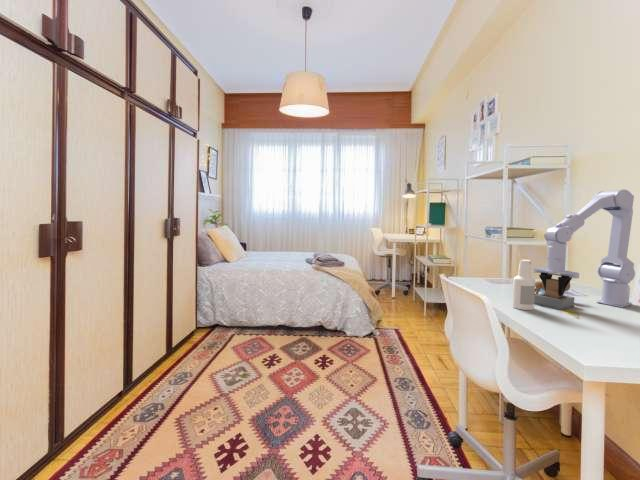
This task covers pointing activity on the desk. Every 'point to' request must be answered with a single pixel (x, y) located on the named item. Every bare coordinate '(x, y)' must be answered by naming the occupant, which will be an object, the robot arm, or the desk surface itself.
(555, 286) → the walnut block
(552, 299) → the square well
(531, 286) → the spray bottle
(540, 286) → the lion figurine
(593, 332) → the desk surface
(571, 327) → the desk surface
